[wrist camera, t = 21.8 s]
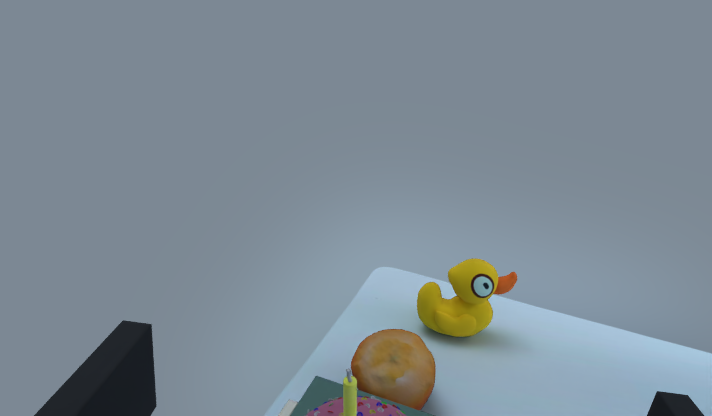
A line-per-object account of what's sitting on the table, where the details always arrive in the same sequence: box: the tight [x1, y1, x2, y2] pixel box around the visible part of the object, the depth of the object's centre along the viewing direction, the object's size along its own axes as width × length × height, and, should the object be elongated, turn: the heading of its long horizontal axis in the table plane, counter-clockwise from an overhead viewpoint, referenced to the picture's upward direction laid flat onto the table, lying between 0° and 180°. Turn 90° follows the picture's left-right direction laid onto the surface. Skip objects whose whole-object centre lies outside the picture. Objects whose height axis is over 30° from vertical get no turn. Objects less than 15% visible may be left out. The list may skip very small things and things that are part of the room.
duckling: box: [417, 259, 517, 337], centre depth 57 cm, size 11×5×10 cm, turn 92°
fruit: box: [351, 329, 435, 411], centre depth 46 cm, size 8×8×8 cm
